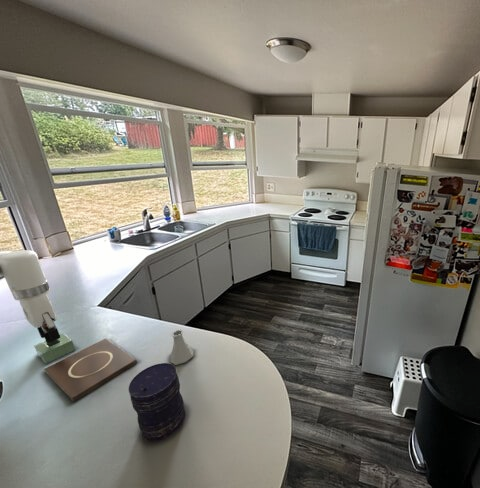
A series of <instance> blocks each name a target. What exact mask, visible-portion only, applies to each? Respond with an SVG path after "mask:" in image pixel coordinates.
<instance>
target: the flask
mask: <svg viewBox="0 0 480 488" xmlns="http://www.w3.org/2000/svg"><path fill="white" fill-rule="evenodd" d="M183 332H184V331H183V330H181V329H176V330H175V331H173V332H172V333H171V336H172V337H173V345H172V350H171V352H170V359H169V362H170V363H171V364H172V365H174V366H177V365H180V364H184V363H187V362H188V361H189V360H190V359H191V358H193V357H194V350H193V348H191V346H190V345H189V344H188V342H187V341H186V340H185V338H184V335H183Z"/></svg>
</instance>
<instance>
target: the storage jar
mask: <svg viewBox="0 0 480 488" xmlns="http://www.w3.org/2000/svg"><path fill="white" fill-rule="evenodd" d="M128 393H129V397H130V402H131V405H132V408H133V410H134V411H135V412H136V413H137V414H136V415H137V423H138V427H139V431H140V432H141V435H142V438H143V439H144V441H147V442H149V443H158V442H162V441H164V440H166V439H168V438H170V437H171V436H173V435H174V434H175V433H177V432H178V430H180V428H181V427H182V426H183V424H184V422H185V421H186V415H187V414H186V409H185V401H184V398H183V395H182V393H181V382H180V379H179V375H178V371H177V368H176V365H175V364H173V363H168V362H162V363H157V364H153V365H150V366H148V367H146V368H144V369H143V370H141V371H140V372H138V373H137V374H136V375H135V376H134V377H133V378H132V379H131V381H130V383H129V385H128Z"/></svg>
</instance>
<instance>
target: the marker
mask: <svg viewBox="0 0 480 488" xmlns="http://www.w3.org/2000/svg"><path fill="white" fill-rule="evenodd" d="M44 323H45V322H44ZM46 327H47V325H45V328H46ZM57 343H59V341H58V339H57V340H54V341H52V342H50V345H51V346H53V345H55V344H57Z"/></svg>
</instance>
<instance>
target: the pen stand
mask: <svg viewBox="0 0 480 488" xmlns="http://www.w3.org/2000/svg"><path fill="white" fill-rule="evenodd" d="M59 334H60V338H59V339H58V341H59V343H57V344H55V345H53V346H51V345H50V343H47V342H46V340H44V341H41V342H39V343H37V344H35V345H33V348H34V349H35V352H36V354H37V356H38V357H39V358H40V359H41V360H42V361H43V362H44V363H45V364H46V365H47V364H48V363H51V362H53V361H55V360H57V359H59V358H61V357H64V356H65V355H67V354H69V353H72V352H73V351H76V347H75V345H74V342H73V340H72V339H71V338H69V337H68V336H67V335H66V334H65V333H59Z"/></svg>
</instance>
